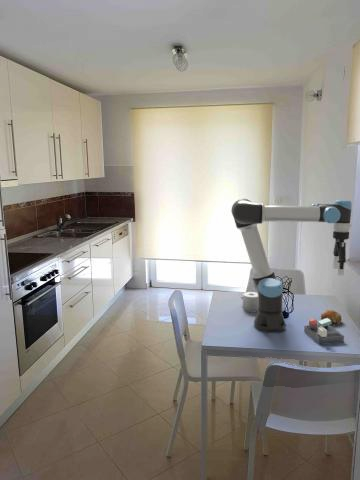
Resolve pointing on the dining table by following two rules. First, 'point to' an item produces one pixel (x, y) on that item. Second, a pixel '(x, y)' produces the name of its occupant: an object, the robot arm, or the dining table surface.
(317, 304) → the dining table surface
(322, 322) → the rocker
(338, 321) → the bread roll
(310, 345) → the dining table surface
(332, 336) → the panel
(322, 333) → the slider knob
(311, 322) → the red button
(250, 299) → the toilet tissue
